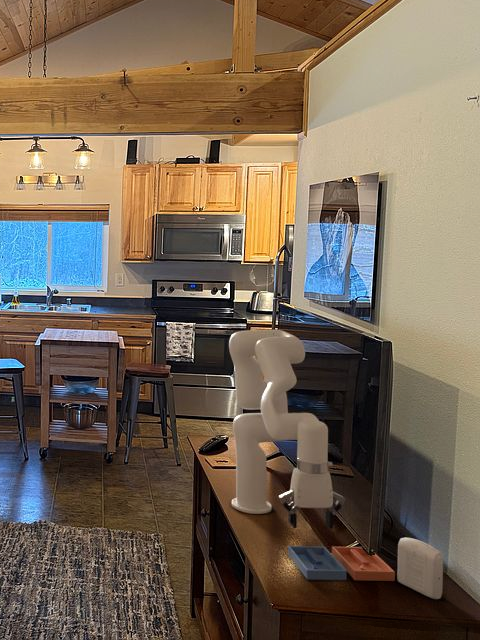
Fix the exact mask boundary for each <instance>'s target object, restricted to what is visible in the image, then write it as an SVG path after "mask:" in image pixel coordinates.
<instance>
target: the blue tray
mask: <svg viewBox="0 0 480 640" xmlns="http://www.w3.org/2000/svg"><path fill="white" fill-rule="evenodd" d="M306 549H312V550H313V552H314V553H315V554H316V555H317V556H318V557H319V558H320V560H321V561H322V564H325V565H327V566H329V568H330V570H316V569H314V565H313V564H312V563H311V562H310V560H309V559H308V558H307V557H306ZM287 556H289V558H290V559H291V560H292V563H294V564H295V566H296V567H297V568H298V569H299V571H300V572H301V574H302V575H303V576H304V577H305V579H306V580H317V581H319V580H321V581H347V578H348V575H347V574H348V572H347V571H346V570H345V569H344V567H343V566H342V565H341V564H340V563H339V562H338V561H337V560H336V559H335V558H334V556H333V555H332V552H330V551H329V550H328V549H327V547H326V546H322V545H321V546H320V545H319V546H317V545H316V546H315V545H312V546H311V545H287Z"/></svg>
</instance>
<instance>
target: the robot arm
mask: <svg viewBox="0 0 480 640" xmlns="http://www.w3.org/2000/svg"><path fill="white" fill-rule="evenodd" d="M228 349H229V354H230V357H231V360H232V363H233V367H234V381H235V397H236V403H237V405H238V407H239V408H241V409H243V410H260V412H249V413H241V414H239V415H237V416H236V417H235V418H234V419H233V421H232V431H233V436H234V437H233V438H234V442H235V443H234V445H235V484H236V485H235V487H236V488H235V489H236V490H235V494H236V497H235V498H232V500H231V506H232V508H233V509H234V510H237V511H239V512H242V513H245V514H252V515H262V514H268V513H270V512H272V510H273V506H272V504H271V503H270V502H269V501H268V500H267V496H268V495H267V492H268V491H267V490H268V489H267V485H268V484H267V483H268V482H267V475H268V474H267V467H268V466H267V455H266V452H265V451H264V450H263V449H262V447H261V446H260V444H261V443H262V444H263V443H278V442H284V441H297V444H296V445H297V447H296V467H294V468H293V469H292V470H293V471H292V475H291V479H290V488H289V490H288V491H286V492H284V493H282V494H279V495H278V499H279V502H280V503H281V505H282V506H283V507H284V508H285V509H286V510H287V511H288V512H287V514H288V515H287V516H288V517H287V519H288V520H287V521H288V523H289V524H290V526H291V527H292V528H293V529H296V528H298V527H297V525H298V524H297V522H298V521H297V520H298V516H297V514H296V513H297V511H298V510H299V509H326V510H325V525H326V527H328V528H329V529H330V530H333V529H334V525H335V521H336V520H335V517H336V516H335V515H337V513H338V512H339V511H340V510H341V509H342V507H343V505H344V503H345V501H346V498H345V497H344V496H342V495H341V494H339V493H337V492H335V491H333V483H332V478H331V473H330V471H329V468H333V466H334V465H333V461H329V460H328V458H329V457H328V453H329V451H328V450H329V428H328V426H327V424H326V423H325V422H322V421H320V420H319V419H318V417H317V416H316V415H315V414H313V413H310V412H289V409H288V408H289V407H288V395H287V392H288V391H289V390H291V389H292V388H294V387H295V385H297V380H298V379H297V376H296V373H295V372H294V370H293V367H292V365H293V364H294V365H295V364H300V363H302V362H303V361H304V360H305V357H306V348H305V346H304V344H303V342H302V341H301V339H300V338H299V337H297V336H295V335H293V334H291V333H289V332H287V331H284V330H282V329H249V330H247V329H246V330H239V331H236V332H234V333H232V334H231V336H230V338H229V341H228ZM263 378H264V379H263ZM288 499H290V503H289V504H288V502H287V500H288ZM334 499H336V502H333V501H334Z"/></svg>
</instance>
